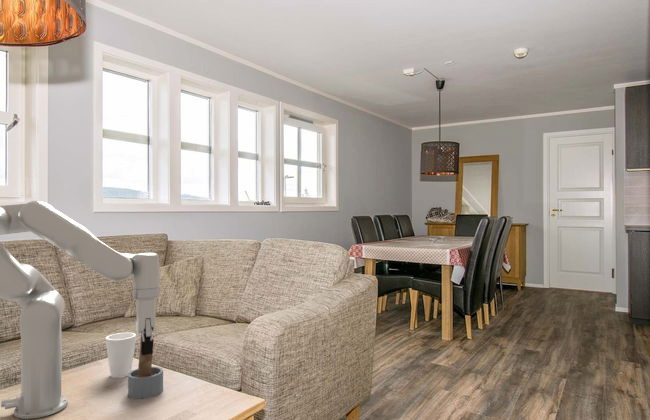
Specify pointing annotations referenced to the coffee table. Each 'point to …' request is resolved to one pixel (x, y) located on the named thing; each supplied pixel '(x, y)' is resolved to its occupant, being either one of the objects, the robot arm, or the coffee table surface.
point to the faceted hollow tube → (145, 384)
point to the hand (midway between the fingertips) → (146, 352)
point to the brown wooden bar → (144, 363)
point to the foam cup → (120, 353)
